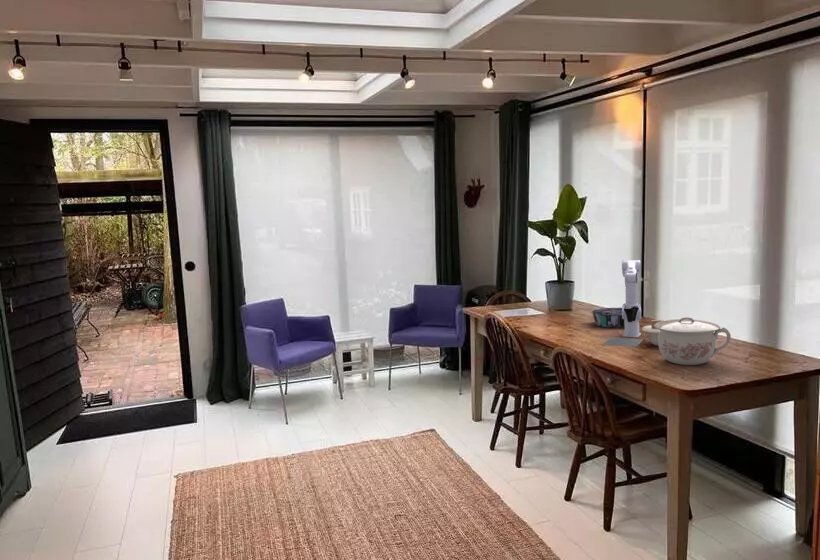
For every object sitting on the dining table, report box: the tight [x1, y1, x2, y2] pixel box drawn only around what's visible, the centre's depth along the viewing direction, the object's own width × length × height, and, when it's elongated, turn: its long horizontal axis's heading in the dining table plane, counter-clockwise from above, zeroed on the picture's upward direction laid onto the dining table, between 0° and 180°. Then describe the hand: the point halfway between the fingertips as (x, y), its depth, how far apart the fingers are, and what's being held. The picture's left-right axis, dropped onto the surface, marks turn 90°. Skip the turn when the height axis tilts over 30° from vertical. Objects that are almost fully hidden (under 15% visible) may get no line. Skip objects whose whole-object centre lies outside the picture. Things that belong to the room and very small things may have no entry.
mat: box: [602, 336, 644, 348], centre depth 317 cm, size 18×17×1 cm
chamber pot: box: [654, 316, 732, 366], centre depth 274 cm, size 28×28×21 cm
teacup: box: [643, 331, 659, 347], centre depth 307 cm, size 14×11×8 cm
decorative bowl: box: [590, 307, 625, 329], centre depth 361 cm, size 26×28×10 cm
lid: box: [641, 319, 665, 333], centre depth 307 cm, size 15×15×5 cm
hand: (631, 321), depth 317 cm, fingers open, 7 cm apart
